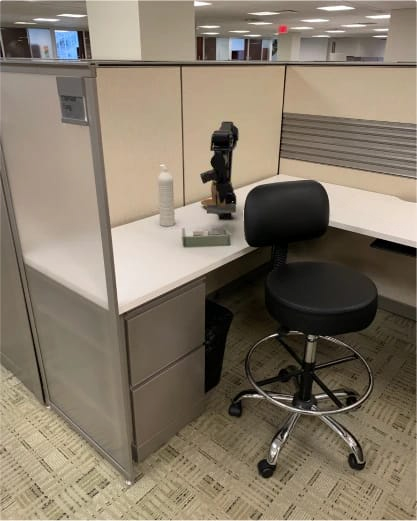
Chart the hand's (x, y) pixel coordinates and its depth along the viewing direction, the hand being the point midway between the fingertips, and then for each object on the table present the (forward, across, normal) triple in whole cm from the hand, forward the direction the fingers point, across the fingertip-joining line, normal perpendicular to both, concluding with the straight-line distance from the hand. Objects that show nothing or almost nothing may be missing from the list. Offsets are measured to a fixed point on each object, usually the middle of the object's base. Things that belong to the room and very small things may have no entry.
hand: (221, 201), depth 170 cm
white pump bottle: (+12, -10, -23) cm, 28 cm away
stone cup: (+13, -28, +1) cm, 31 cm away
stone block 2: (+12, +14, -4) cm, 19 cm away
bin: (+12, +13, -8) cm, 19 cm away
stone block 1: (+12, +14, -10) cm, 21 cm away
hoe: (+4, 0, 0) cm, 4 cm away
